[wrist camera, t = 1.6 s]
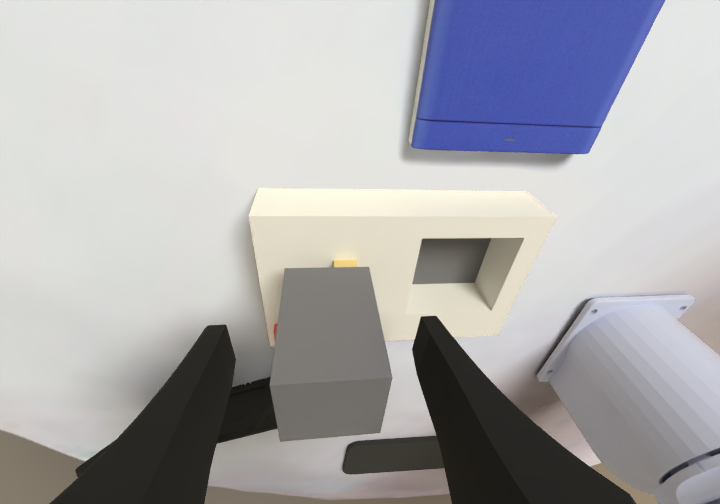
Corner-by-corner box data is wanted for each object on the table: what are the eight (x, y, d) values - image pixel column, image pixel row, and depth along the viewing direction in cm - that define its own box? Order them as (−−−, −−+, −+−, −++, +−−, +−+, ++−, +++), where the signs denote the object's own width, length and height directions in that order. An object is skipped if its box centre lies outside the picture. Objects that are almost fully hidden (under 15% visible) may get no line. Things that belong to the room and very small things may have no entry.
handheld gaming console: (209, 467, 27) (108, 591, 17) (171, 392, 27) (51, 470, 17) (326, 407, 26) (293, 499, 16) (287, 331, 27) (231, 375, 17)
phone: (348, 445, 30) (493, 437, 32) (348, 436, 31) (490, 429, 33) (341, 475, 34) (470, 466, 37) (341, 466, 35) (467, 458, 37)
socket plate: (480, 304, 20) (502, 342, 18) (274, 311, 19) (268, 354, 16) (527, 191, 16) (564, 222, 13) (258, 187, 14) (246, 222, 12)
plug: (360, 306, 16) (380, 432, 11) (291, 309, 15) (279, 441, 11) (366, 252, 14) (392, 377, 9) (286, 253, 13) (269, 385, 9)
